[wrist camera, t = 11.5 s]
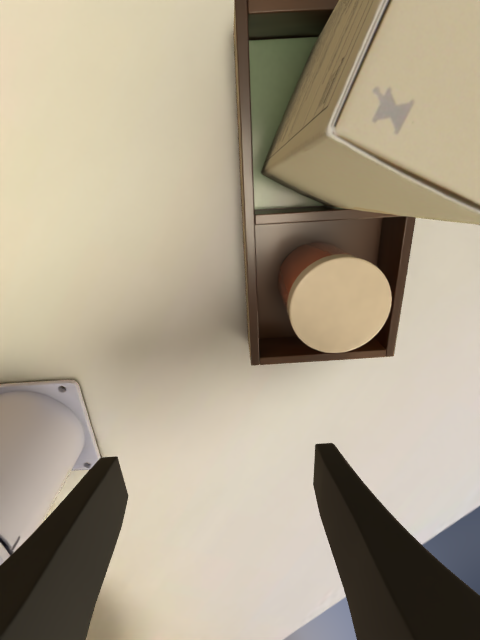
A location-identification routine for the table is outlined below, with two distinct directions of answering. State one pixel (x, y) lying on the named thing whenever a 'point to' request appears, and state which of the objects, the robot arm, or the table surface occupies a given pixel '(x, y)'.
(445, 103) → the cosmetic box
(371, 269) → the cream jar
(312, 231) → the organizer
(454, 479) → the table surface
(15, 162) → the table surface
